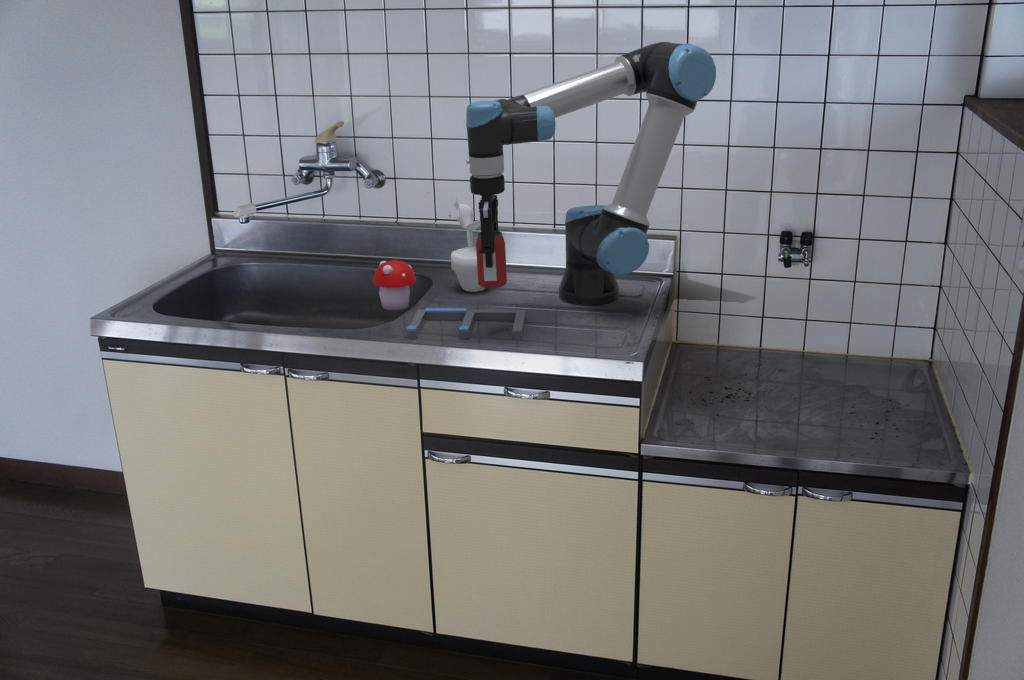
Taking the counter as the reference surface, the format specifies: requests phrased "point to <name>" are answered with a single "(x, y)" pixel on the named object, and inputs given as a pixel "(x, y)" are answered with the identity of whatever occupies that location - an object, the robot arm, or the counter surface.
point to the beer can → (500, 262)
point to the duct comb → (466, 319)
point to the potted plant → (466, 252)
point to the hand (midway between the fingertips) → (492, 275)
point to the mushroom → (394, 284)
